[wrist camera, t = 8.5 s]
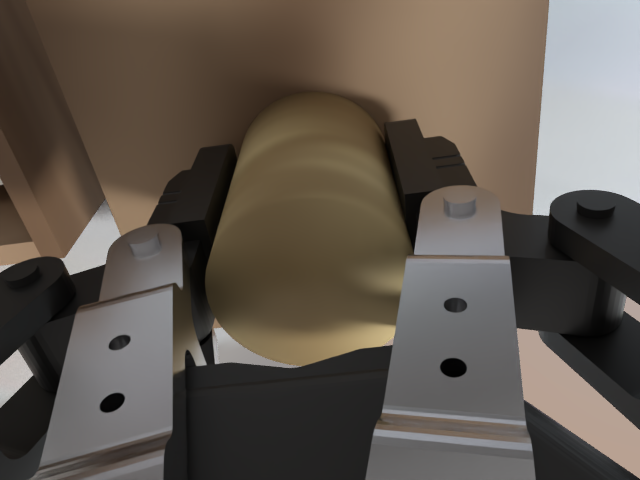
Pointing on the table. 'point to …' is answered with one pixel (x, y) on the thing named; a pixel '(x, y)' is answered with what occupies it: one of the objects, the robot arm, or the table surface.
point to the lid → (299, 137)
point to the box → (38, 150)
